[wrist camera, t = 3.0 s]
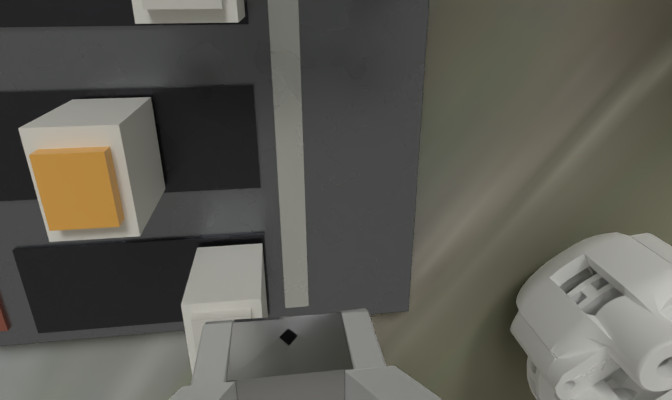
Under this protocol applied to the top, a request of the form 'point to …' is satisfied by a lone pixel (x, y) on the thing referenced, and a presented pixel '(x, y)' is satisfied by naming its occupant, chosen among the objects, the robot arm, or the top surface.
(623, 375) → the mechanical part
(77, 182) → the breaker mid
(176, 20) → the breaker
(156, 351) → the top surface
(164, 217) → the panel
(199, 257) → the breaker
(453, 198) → the top surface
